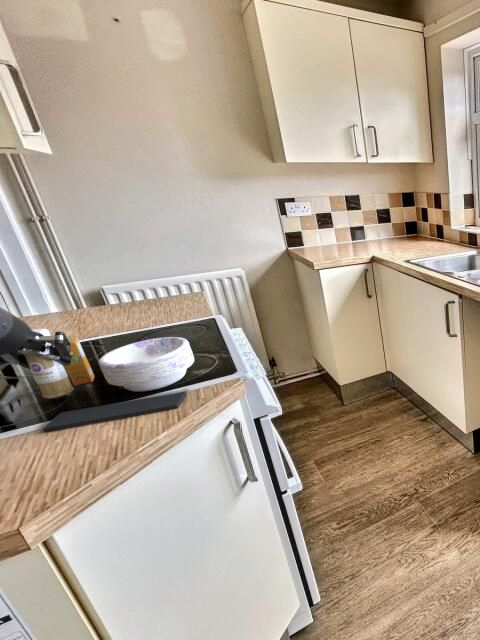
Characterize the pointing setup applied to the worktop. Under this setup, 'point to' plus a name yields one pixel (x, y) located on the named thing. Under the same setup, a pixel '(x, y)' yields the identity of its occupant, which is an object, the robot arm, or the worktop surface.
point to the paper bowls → (148, 363)
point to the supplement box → (79, 364)
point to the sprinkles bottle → (49, 373)
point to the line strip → (115, 411)
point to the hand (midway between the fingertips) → (51, 363)
